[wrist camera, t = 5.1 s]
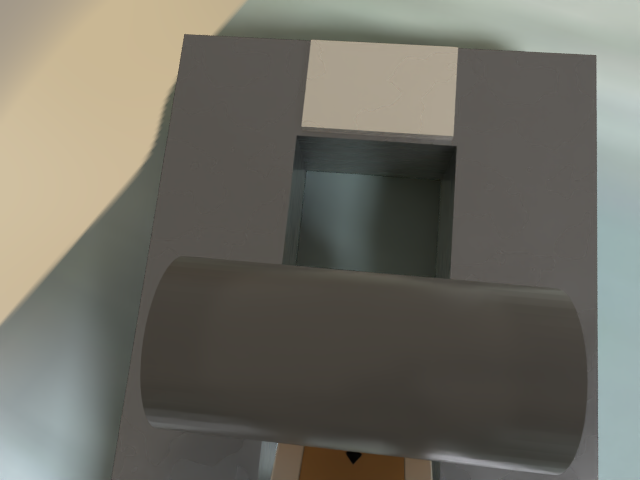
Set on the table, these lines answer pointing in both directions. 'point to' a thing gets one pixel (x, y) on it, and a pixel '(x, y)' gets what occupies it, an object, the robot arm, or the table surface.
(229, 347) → the lever
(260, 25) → the table surface
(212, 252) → the breaker box
